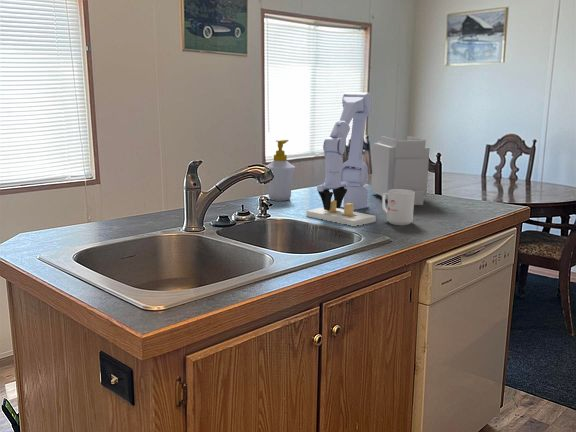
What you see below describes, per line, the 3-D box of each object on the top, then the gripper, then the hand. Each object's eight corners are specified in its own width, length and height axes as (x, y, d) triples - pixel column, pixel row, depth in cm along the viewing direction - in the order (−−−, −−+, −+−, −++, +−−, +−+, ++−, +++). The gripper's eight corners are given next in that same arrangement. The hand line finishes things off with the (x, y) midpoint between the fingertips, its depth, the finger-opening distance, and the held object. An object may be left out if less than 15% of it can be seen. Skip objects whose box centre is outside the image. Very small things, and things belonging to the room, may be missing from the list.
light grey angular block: (390, 205, 222) (393, 140, 217) (370, 193, 248) (373, 135, 243) (430, 204, 225) (435, 140, 220) (406, 193, 251) (410, 135, 245)
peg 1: (337, 217, 199) (338, 200, 198) (331, 218, 197) (332, 201, 196) (331, 215, 202) (331, 199, 200) (325, 216, 199) (325, 200, 198)
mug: (417, 223, 192) (419, 191, 189) (403, 227, 186) (405, 194, 183) (389, 217, 200) (390, 187, 198) (374, 221, 194) (375, 189, 192)
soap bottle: (300, 198, 233) (301, 140, 228) (284, 203, 223) (285, 142, 217) (275, 195, 240) (276, 138, 234) (258, 200, 229) (258, 140, 224)
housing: (328, 211, 208) (328, 206, 208) (375, 221, 193) (375, 216, 192) (306, 216, 200) (306, 210, 200) (353, 226, 185) (354, 221, 184)
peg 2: (354, 220, 194) (355, 203, 193) (349, 222, 192) (349, 205, 190) (347, 219, 196) (348, 202, 195) (341, 220, 194) (342, 203, 192)
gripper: (338, 168, 203) (336, 204, 206) (311, 172, 194) (310, 209, 196) (353, 170, 199) (351, 207, 201) (326, 174, 189) (324, 213, 192)
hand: (332, 209), depth 199 cm, fingers open, 5 cm apart
